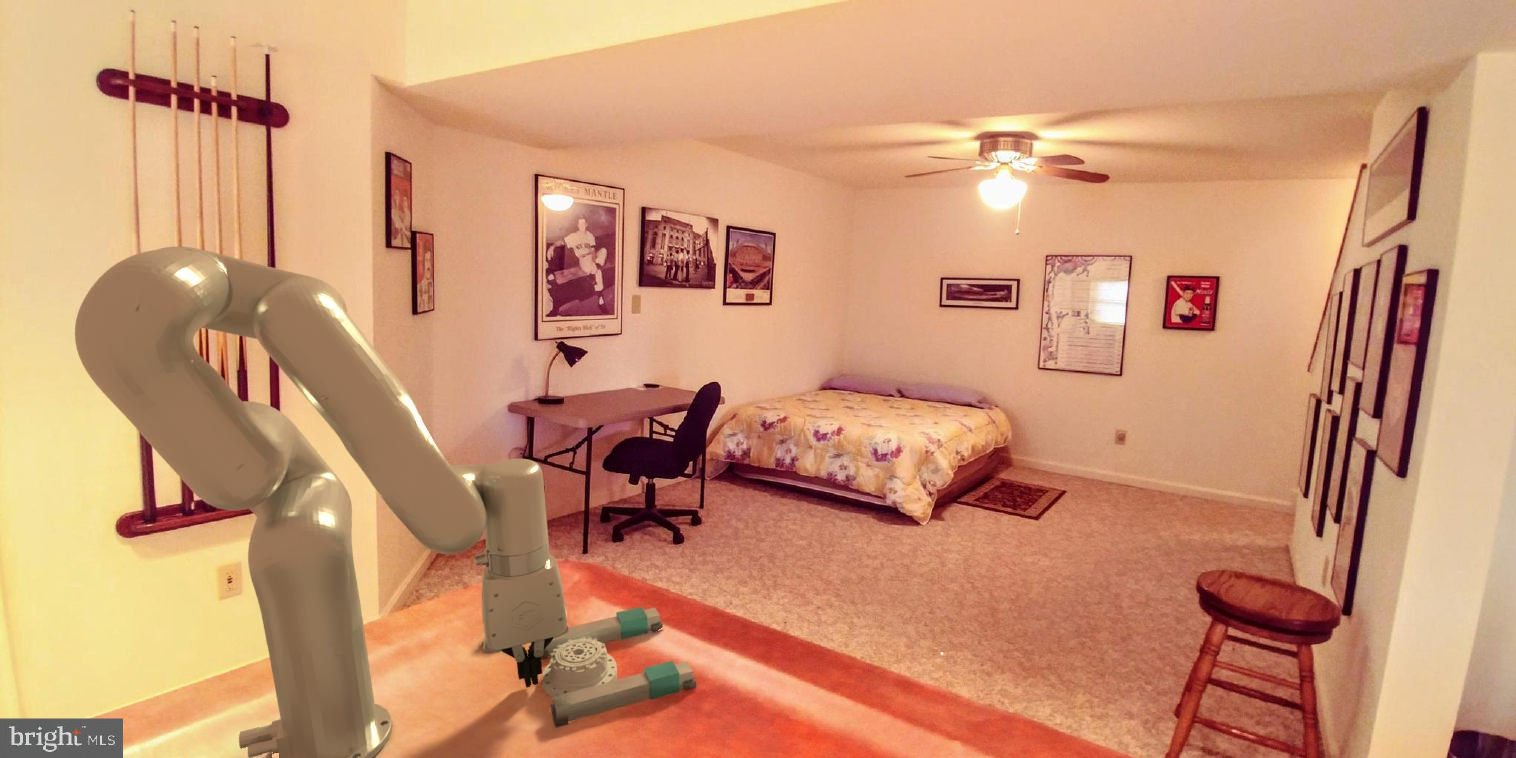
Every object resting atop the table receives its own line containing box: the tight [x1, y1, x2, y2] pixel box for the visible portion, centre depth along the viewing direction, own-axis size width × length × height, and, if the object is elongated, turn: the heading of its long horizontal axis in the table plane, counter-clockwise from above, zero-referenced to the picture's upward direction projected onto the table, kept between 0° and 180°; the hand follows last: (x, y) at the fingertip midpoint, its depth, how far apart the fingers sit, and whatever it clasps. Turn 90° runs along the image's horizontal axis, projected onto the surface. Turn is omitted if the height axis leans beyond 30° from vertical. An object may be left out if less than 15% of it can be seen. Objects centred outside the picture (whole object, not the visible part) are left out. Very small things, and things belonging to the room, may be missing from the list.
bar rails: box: [541, 606, 697, 729], centre depth 103 cm, size 19×18×3 cm
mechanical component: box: [542, 637, 618, 699], centre depth 100 cm, size 10×4×10 cm
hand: (530, 679), depth 98 cm, fingers closed
